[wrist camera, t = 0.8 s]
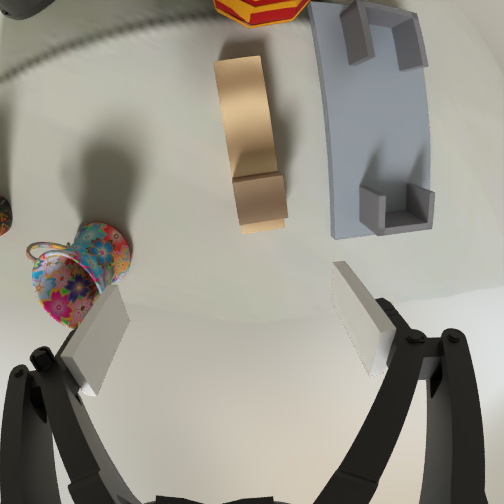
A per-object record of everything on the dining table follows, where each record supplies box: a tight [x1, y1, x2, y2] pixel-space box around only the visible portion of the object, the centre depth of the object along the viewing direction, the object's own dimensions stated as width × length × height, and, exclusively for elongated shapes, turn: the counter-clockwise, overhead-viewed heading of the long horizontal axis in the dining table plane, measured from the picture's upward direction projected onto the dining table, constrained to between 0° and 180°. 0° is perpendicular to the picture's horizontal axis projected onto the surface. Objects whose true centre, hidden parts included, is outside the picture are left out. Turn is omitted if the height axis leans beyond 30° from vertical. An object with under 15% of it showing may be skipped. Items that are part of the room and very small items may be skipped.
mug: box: [26, 222, 131, 329], centre depth 28 cm, size 12×9×11 cm
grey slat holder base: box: [307, 0, 435, 240], centre depth 25 cm, size 29×14×6 cm, turn 7°
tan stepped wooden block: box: [213, 56, 288, 234], centre depth 26 cm, size 18×4×7 cm, turn 9°
